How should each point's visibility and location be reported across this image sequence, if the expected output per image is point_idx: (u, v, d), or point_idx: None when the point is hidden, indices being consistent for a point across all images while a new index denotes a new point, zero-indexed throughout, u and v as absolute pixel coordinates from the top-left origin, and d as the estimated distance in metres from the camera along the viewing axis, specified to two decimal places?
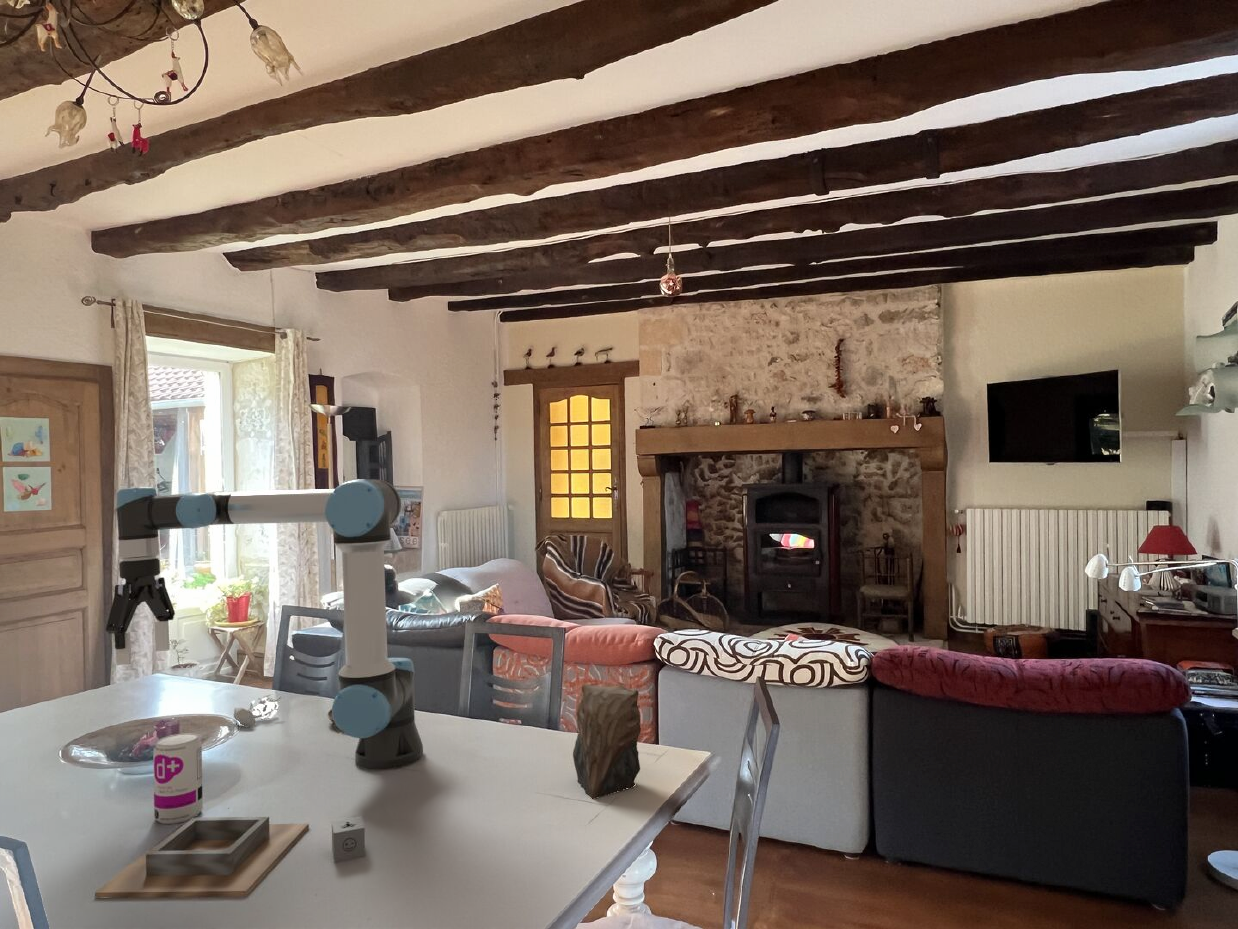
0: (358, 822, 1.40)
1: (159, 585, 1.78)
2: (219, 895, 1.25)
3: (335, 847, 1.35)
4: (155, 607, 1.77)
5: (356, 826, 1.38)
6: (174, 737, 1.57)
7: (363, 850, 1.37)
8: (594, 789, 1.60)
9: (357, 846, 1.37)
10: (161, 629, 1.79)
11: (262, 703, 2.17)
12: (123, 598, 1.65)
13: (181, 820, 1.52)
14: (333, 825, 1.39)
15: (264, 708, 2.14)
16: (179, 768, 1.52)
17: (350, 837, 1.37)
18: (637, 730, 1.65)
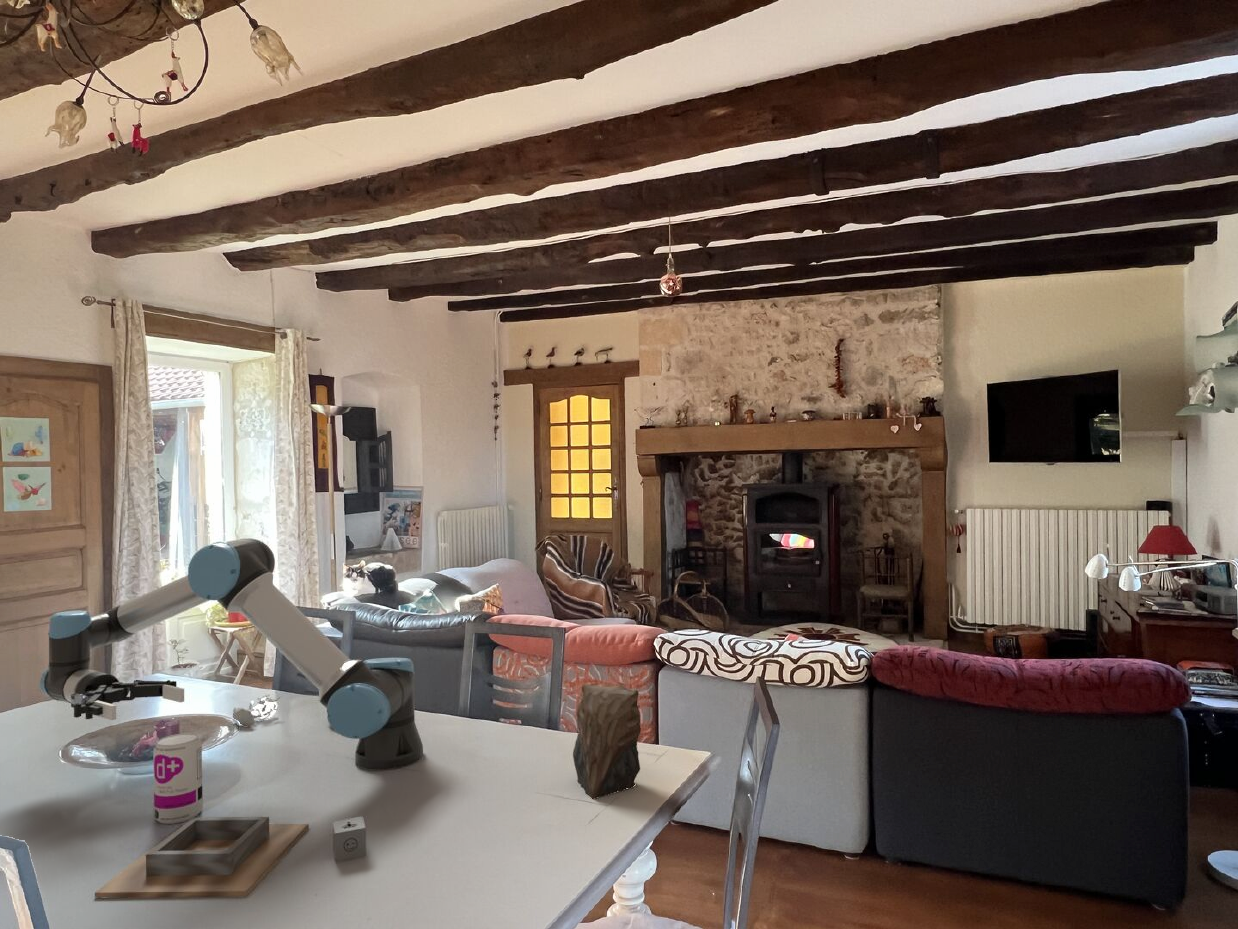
0: (359, 822, 1.39)
1: None
2: (219, 895, 1.25)
3: (336, 847, 1.35)
4: (144, 690, 1.70)
5: (357, 826, 1.38)
6: (174, 737, 1.57)
7: (364, 850, 1.37)
8: (594, 789, 1.60)
9: (358, 846, 1.37)
10: (167, 692, 1.69)
11: (261, 703, 2.17)
12: (74, 698, 1.61)
13: (181, 820, 1.52)
14: (334, 825, 1.38)
15: (263, 708, 2.14)
16: (179, 768, 1.52)
17: (351, 837, 1.36)
18: (637, 730, 1.65)
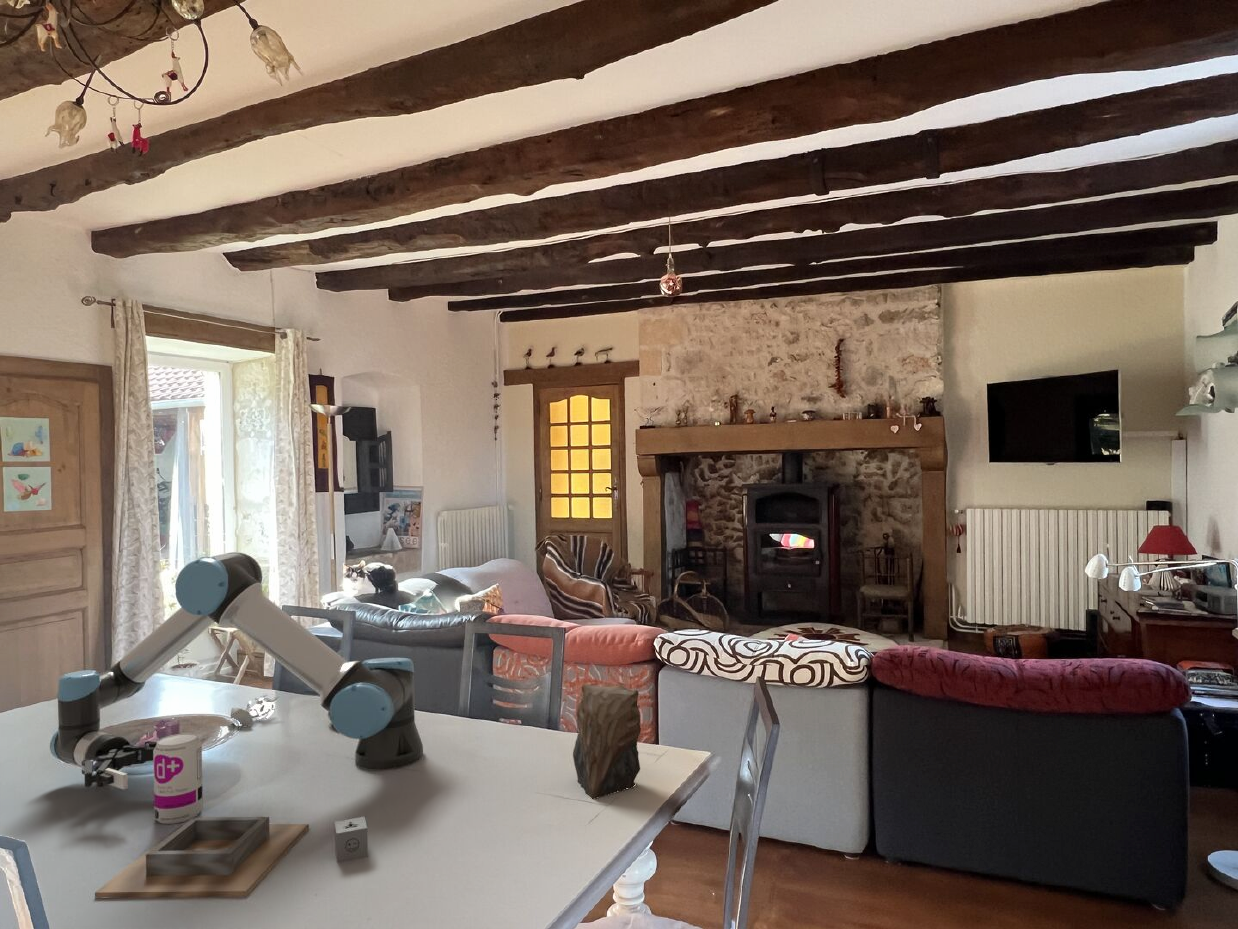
0: (361, 822, 1.39)
1: (146, 745, 1.70)
2: (219, 895, 1.25)
3: (338, 847, 1.35)
4: None
5: (359, 826, 1.38)
6: (174, 737, 1.57)
7: (366, 850, 1.37)
8: (594, 789, 1.60)
9: (360, 847, 1.37)
10: None
11: (259, 703, 2.17)
12: (84, 765, 1.58)
13: (181, 820, 1.52)
14: (336, 825, 1.38)
15: (261, 708, 2.14)
16: (179, 768, 1.52)
17: (353, 837, 1.36)
18: (637, 730, 1.65)
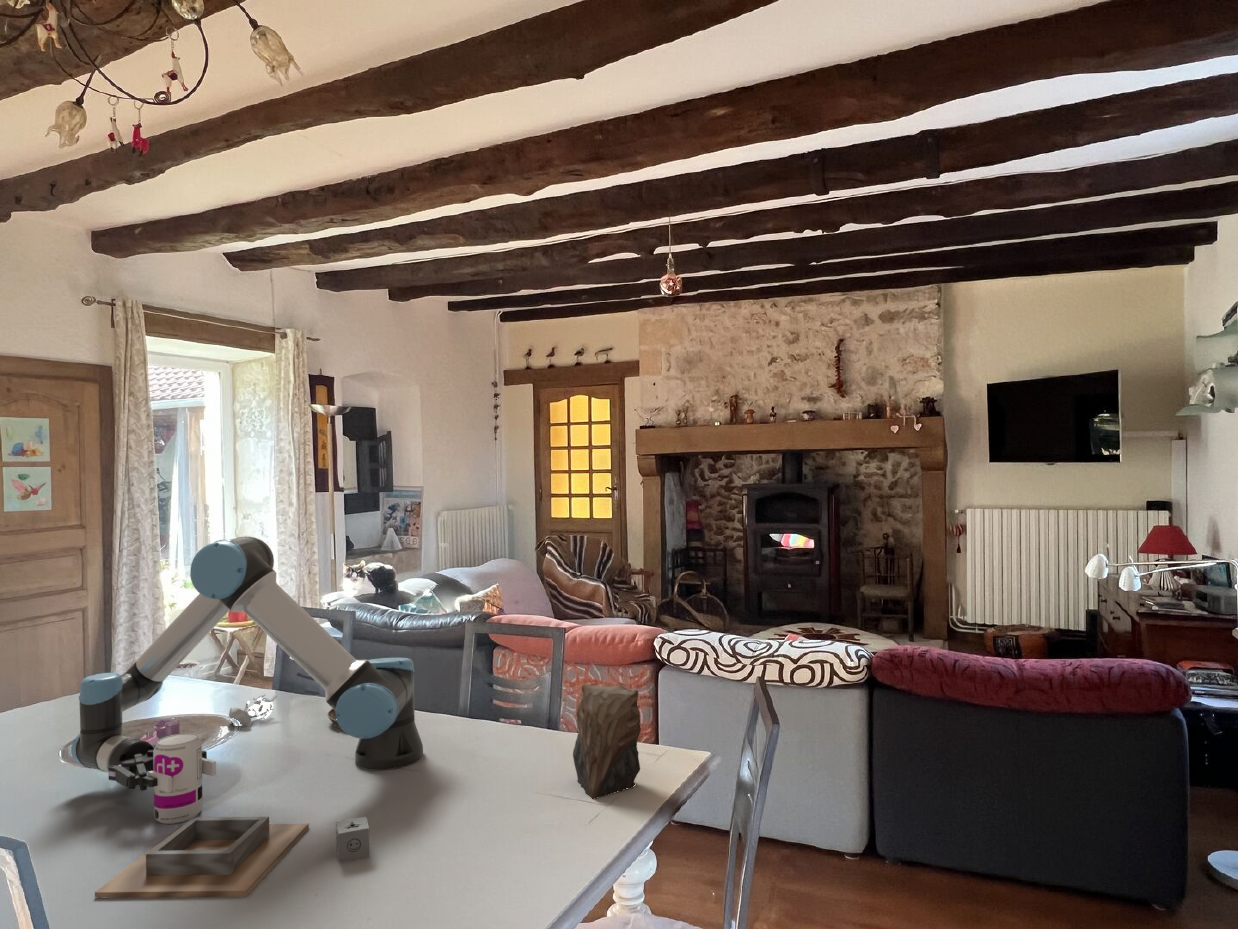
0: (362, 822, 1.39)
1: None
2: (219, 895, 1.25)
3: (339, 847, 1.35)
4: None
5: (360, 826, 1.38)
6: (174, 737, 1.57)
7: (367, 850, 1.37)
8: (594, 789, 1.60)
9: (361, 847, 1.37)
10: None
11: (257, 703, 2.17)
12: (116, 771, 1.54)
13: (181, 820, 1.52)
14: (337, 825, 1.38)
15: (260, 708, 2.14)
16: (179, 768, 1.52)
17: (354, 837, 1.36)
18: (637, 730, 1.65)
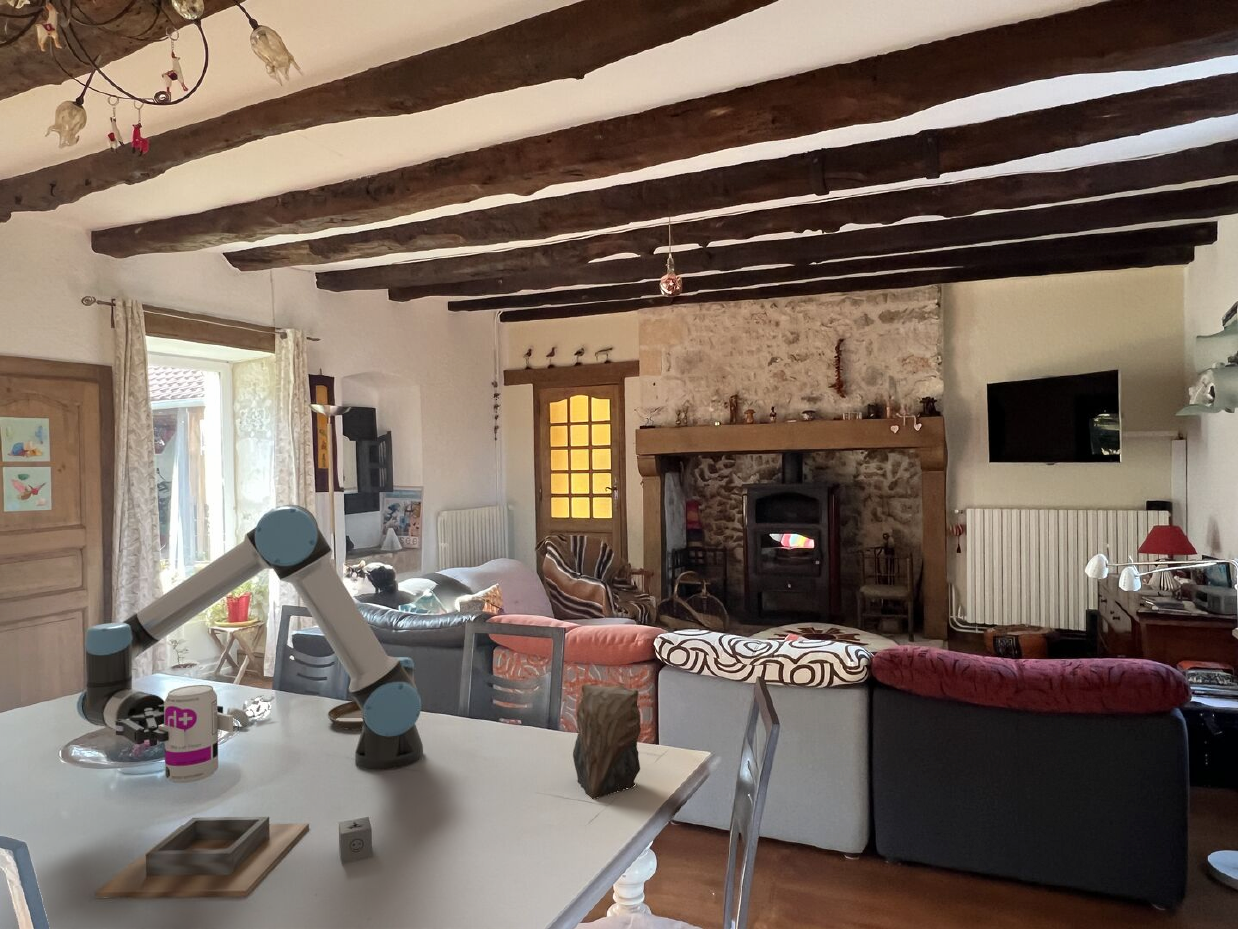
0: (365, 823, 1.39)
1: None
2: (219, 895, 1.25)
3: (342, 848, 1.35)
4: None
5: (363, 827, 1.38)
6: (187, 688, 1.42)
7: (370, 851, 1.37)
8: (594, 789, 1.60)
9: (364, 847, 1.37)
10: None
11: (255, 703, 2.17)
12: (124, 724, 1.40)
13: (194, 779, 1.38)
14: (340, 826, 1.38)
15: (258, 708, 2.14)
16: (193, 721, 1.37)
17: (357, 838, 1.36)
18: (637, 730, 1.65)
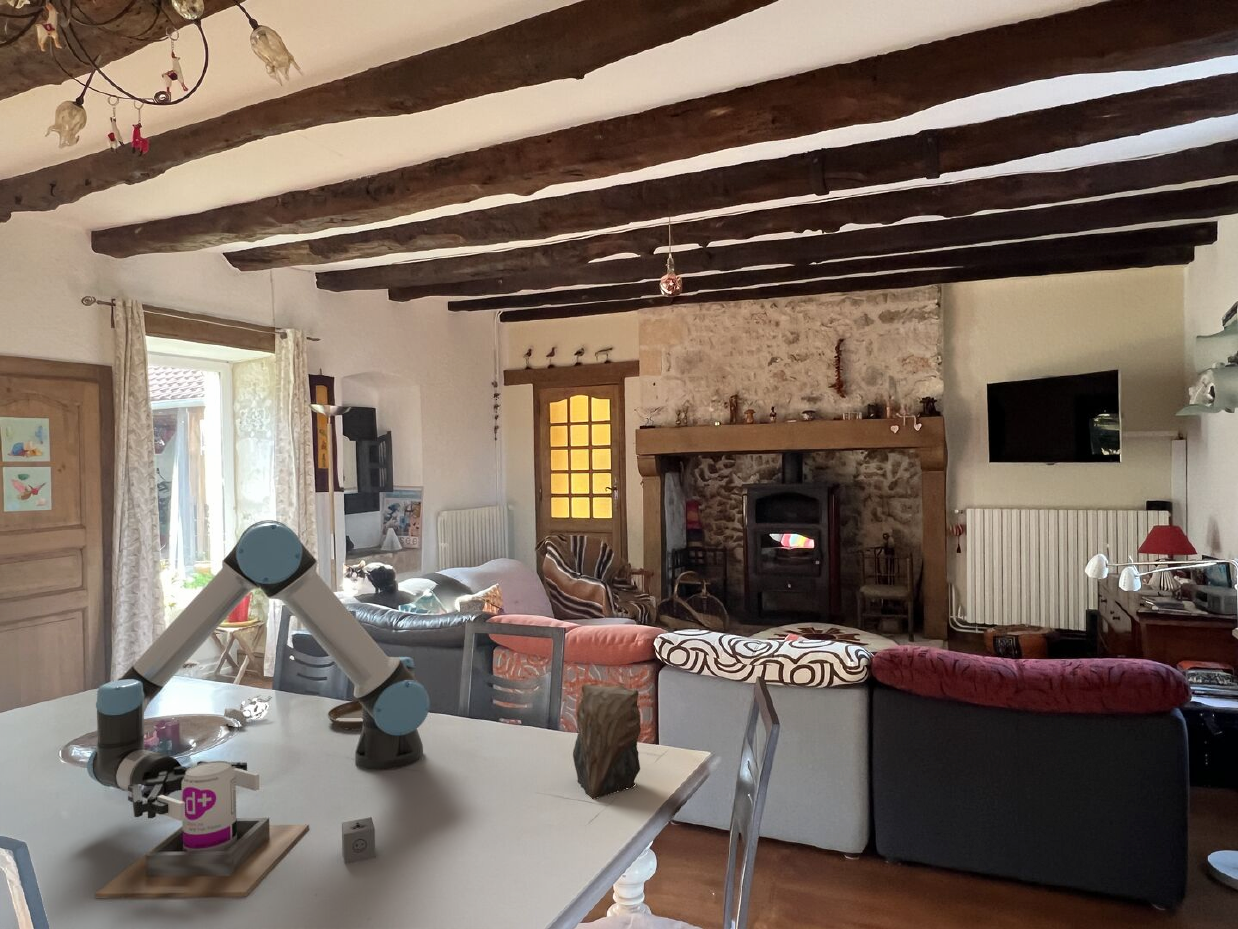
0: (368, 823, 1.39)
1: None
2: (219, 896, 1.25)
3: (345, 848, 1.35)
4: None
5: (366, 827, 1.37)
6: (204, 766, 1.39)
7: (373, 851, 1.37)
8: (594, 789, 1.60)
9: (367, 847, 1.36)
10: (238, 777, 1.44)
11: (253, 704, 2.16)
12: (132, 791, 1.36)
13: None
14: (343, 826, 1.38)
15: (255, 709, 2.14)
16: (212, 802, 1.34)
17: (360, 838, 1.36)
18: (637, 730, 1.65)
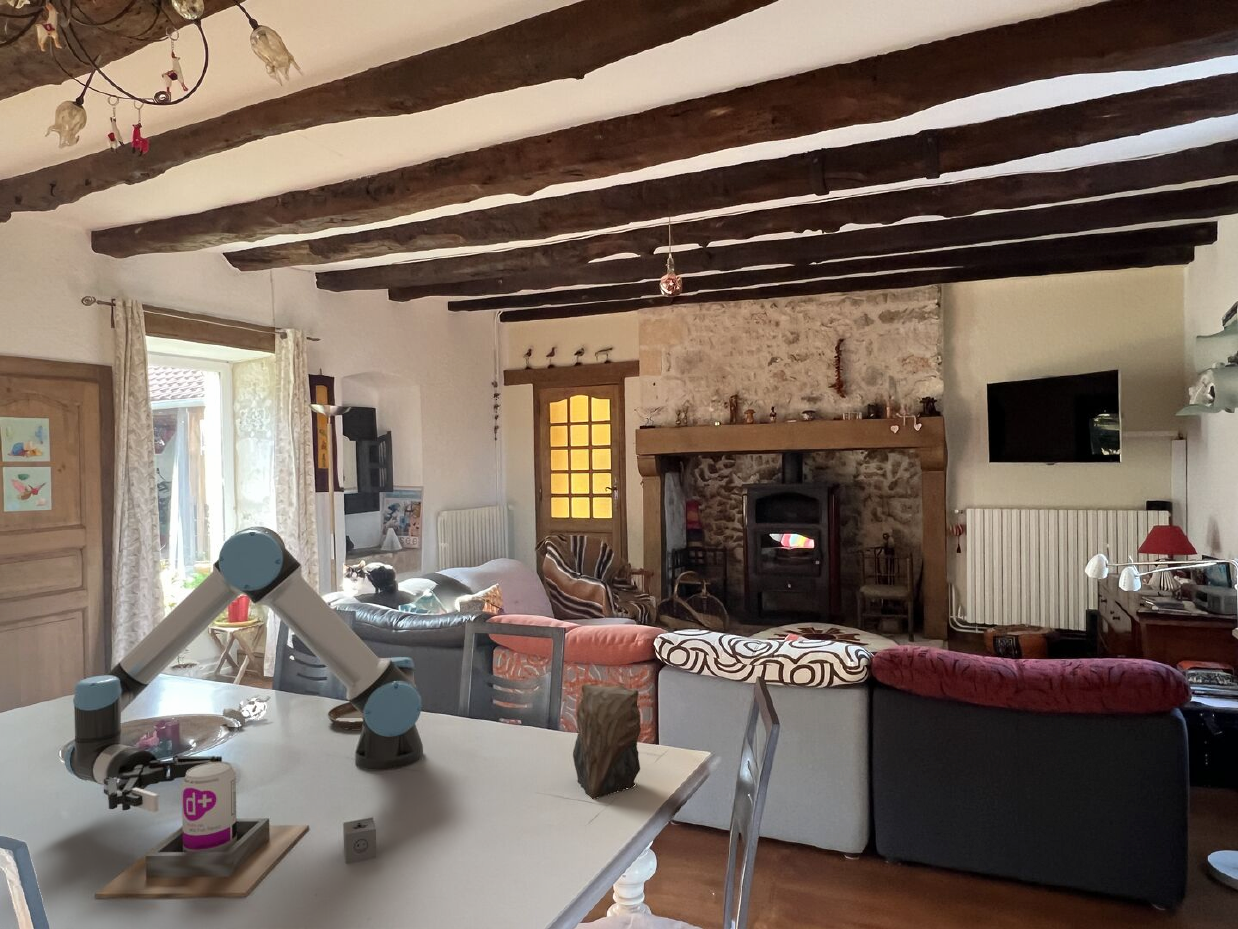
0: (370, 823, 1.39)
1: (174, 760, 1.51)
2: None
3: (347, 848, 1.35)
4: (186, 769, 1.48)
5: (368, 827, 1.37)
6: (204, 767, 1.39)
7: (375, 851, 1.37)
8: (594, 789, 1.60)
9: (368, 847, 1.36)
10: None
11: (251, 704, 2.16)
12: (107, 784, 1.39)
13: None
14: (345, 826, 1.38)
15: (254, 709, 2.14)
16: (212, 803, 1.34)
17: (362, 838, 1.36)
18: (637, 730, 1.65)
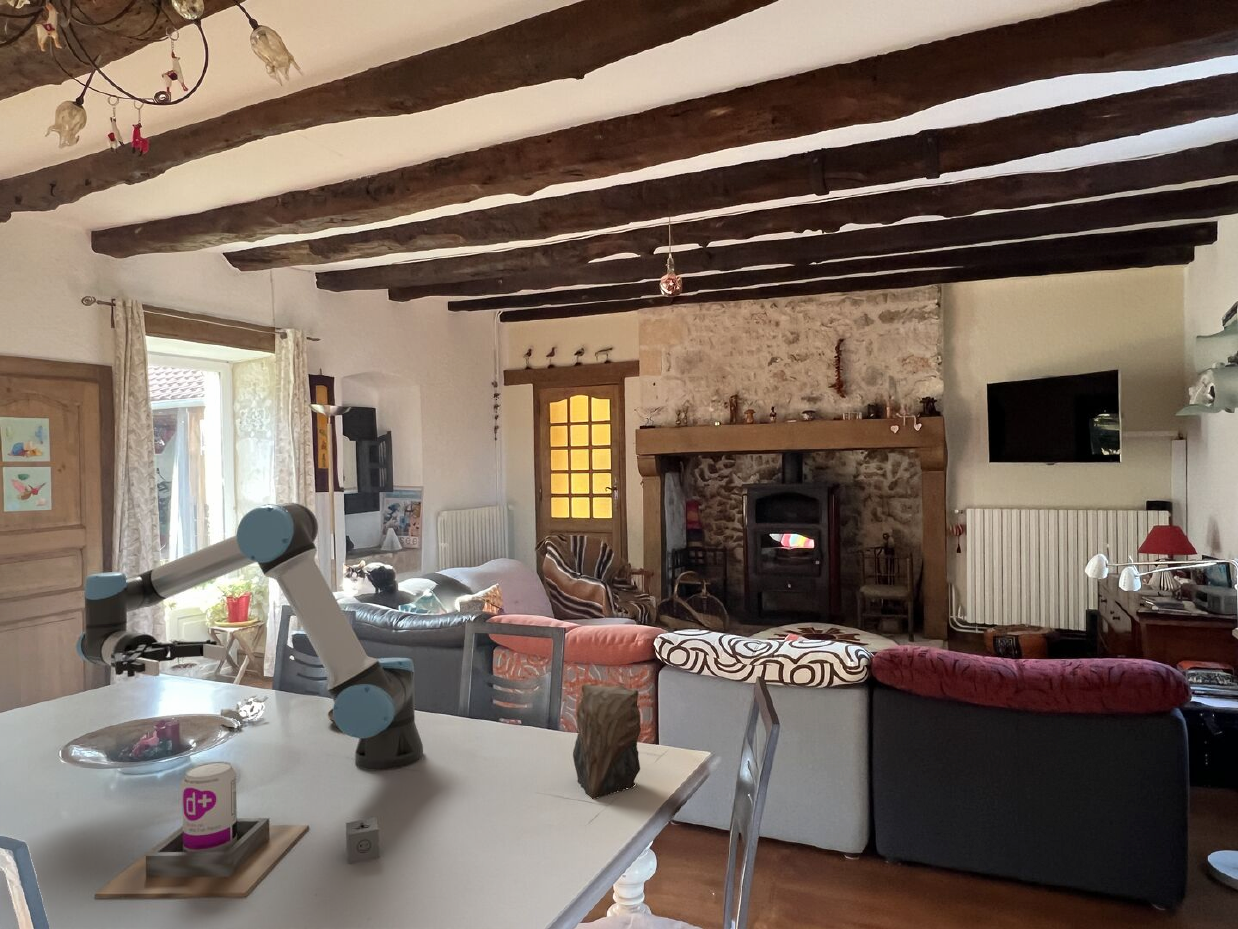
0: (372, 823, 1.39)
1: None
2: None
3: (349, 848, 1.35)
4: (184, 650, 1.65)
5: (370, 827, 1.37)
6: (205, 766, 1.39)
7: (377, 851, 1.37)
8: (594, 789, 1.60)
9: (371, 848, 1.36)
10: (208, 651, 1.64)
11: (249, 704, 2.16)
12: (114, 657, 1.57)
13: None
14: (347, 826, 1.38)
15: (251, 709, 2.14)
16: (212, 803, 1.34)
17: (364, 838, 1.36)
18: (637, 730, 1.65)
